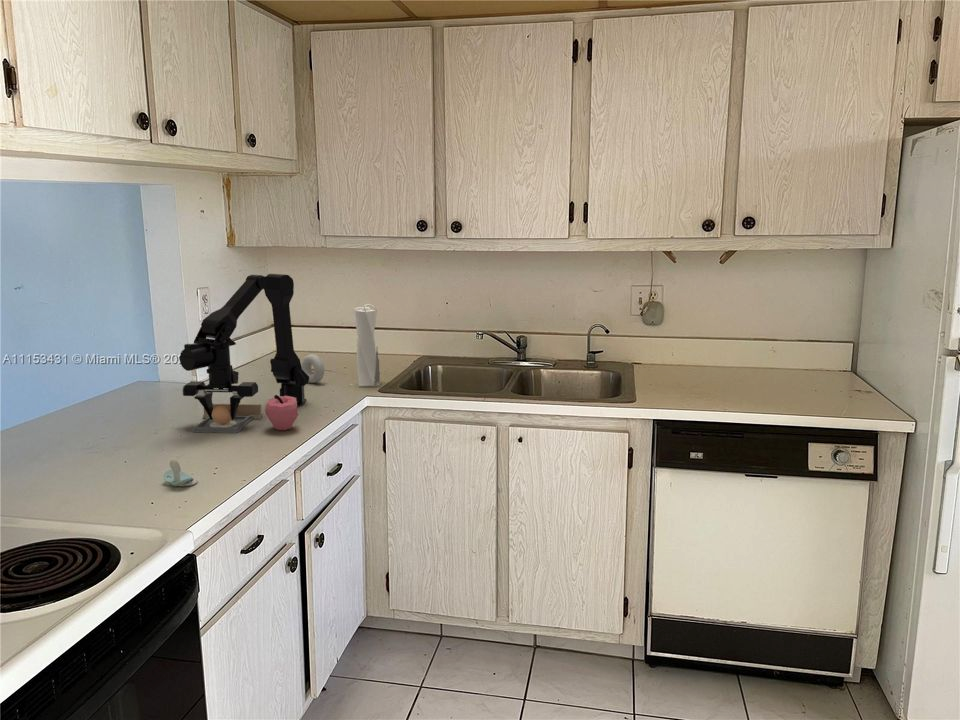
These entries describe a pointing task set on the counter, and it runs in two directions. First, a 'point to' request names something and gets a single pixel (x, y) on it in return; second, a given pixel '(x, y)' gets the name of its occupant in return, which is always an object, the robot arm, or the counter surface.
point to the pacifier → (178, 475)
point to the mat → (223, 425)
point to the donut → (318, 368)
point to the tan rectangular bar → (243, 410)
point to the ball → (221, 414)
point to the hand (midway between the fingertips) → (222, 419)
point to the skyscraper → (367, 347)
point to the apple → (282, 411)
